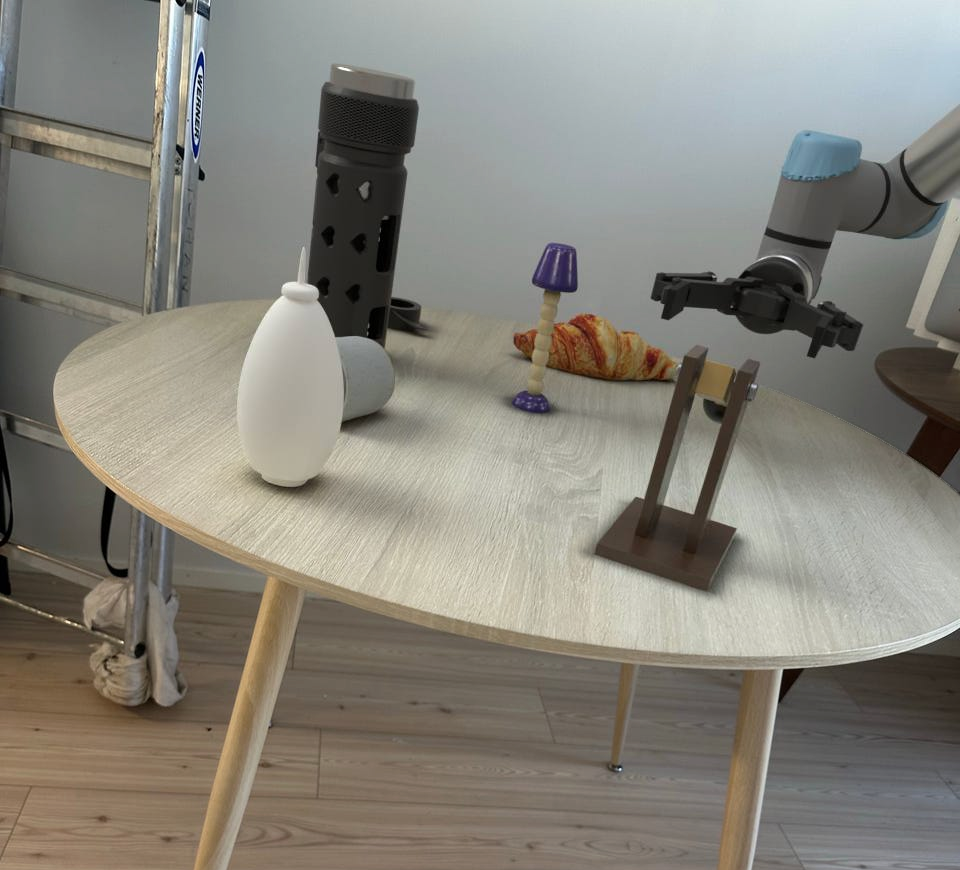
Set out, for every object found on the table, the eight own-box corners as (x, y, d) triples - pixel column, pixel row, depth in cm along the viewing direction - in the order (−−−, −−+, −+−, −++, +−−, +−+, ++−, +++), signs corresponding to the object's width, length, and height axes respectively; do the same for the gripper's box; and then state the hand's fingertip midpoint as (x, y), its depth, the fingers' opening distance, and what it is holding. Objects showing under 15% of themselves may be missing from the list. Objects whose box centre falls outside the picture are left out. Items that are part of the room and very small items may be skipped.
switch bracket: (631, 511, 89) (681, 329, 81) (732, 542, 87) (793, 359, 79) (592, 559, 79) (645, 357, 71) (705, 596, 77) (772, 392, 69)
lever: (698, 419, 89) (712, 378, 88) (739, 431, 88) (753, 390, 87) (682, 397, 75) (699, 348, 74) (730, 410, 74) (747, 361, 74)
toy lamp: (498, 402, 108) (529, 238, 100) (529, 399, 111) (561, 239, 103) (529, 418, 106) (564, 251, 97) (560, 414, 109) (596, 252, 100)
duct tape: (424, 321, 133) (428, 298, 131) (426, 342, 124) (430, 318, 123) (365, 311, 131) (368, 288, 130) (363, 332, 123) (366, 307, 121)
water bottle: (274, 349, 110) (349, 378, 107) (296, 56, 96) (383, 77, 93) (329, 338, 118) (402, 365, 114) (357, 65, 104) (441, 84, 100)
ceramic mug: (396, 421, 98) (406, 340, 94) (343, 437, 91) (351, 352, 88) (310, 389, 102) (316, 311, 98) (253, 403, 95) (258, 320, 92)
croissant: (660, 402, 132) (668, 340, 131) (691, 388, 122) (700, 321, 122) (501, 376, 128) (509, 311, 127) (520, 359, 118) (528, 290, 117)
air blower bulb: (315, 513, 77) (340, 268, 68) (217, 489, 78) (229, 242, 68) (346, 478, 84) (372, 250, 75) (255, 456, 84) (270, 228, 75)
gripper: (876, 357, 108) (865, 400, 91) (652, 300, 115) (600, 330, 97) (903, 285, 105) (896, 315, 87) (670, 230, 111) (619, 247, 93)
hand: (740, 323), depth 92 cm, fingers open, 13 cm apart
